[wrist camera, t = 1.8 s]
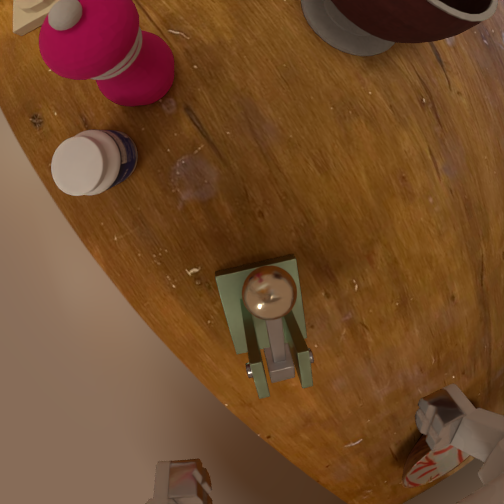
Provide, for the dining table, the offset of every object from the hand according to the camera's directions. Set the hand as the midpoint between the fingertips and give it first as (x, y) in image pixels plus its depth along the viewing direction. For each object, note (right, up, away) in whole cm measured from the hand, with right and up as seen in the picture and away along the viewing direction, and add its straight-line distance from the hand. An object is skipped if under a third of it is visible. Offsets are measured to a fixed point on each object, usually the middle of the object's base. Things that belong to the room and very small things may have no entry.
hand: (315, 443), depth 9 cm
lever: (-1, +2, +15) cm, 15 cm away
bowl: (+42, -37, +47) cm, 73 cm away
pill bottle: (-17, +17, +21) cm, 31 cm away
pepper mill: (-13, +24, +18) cm, 33 cm away
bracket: (-1, 0, +28) cm, 28 cm away
